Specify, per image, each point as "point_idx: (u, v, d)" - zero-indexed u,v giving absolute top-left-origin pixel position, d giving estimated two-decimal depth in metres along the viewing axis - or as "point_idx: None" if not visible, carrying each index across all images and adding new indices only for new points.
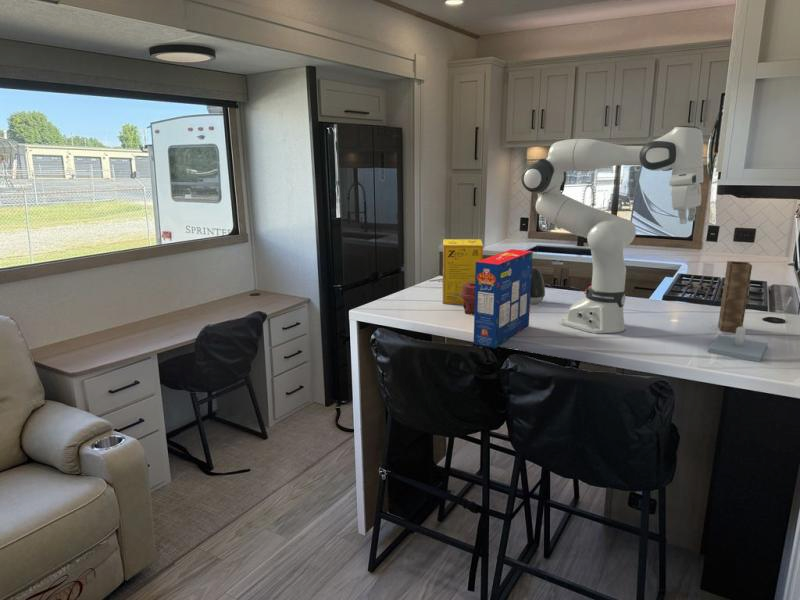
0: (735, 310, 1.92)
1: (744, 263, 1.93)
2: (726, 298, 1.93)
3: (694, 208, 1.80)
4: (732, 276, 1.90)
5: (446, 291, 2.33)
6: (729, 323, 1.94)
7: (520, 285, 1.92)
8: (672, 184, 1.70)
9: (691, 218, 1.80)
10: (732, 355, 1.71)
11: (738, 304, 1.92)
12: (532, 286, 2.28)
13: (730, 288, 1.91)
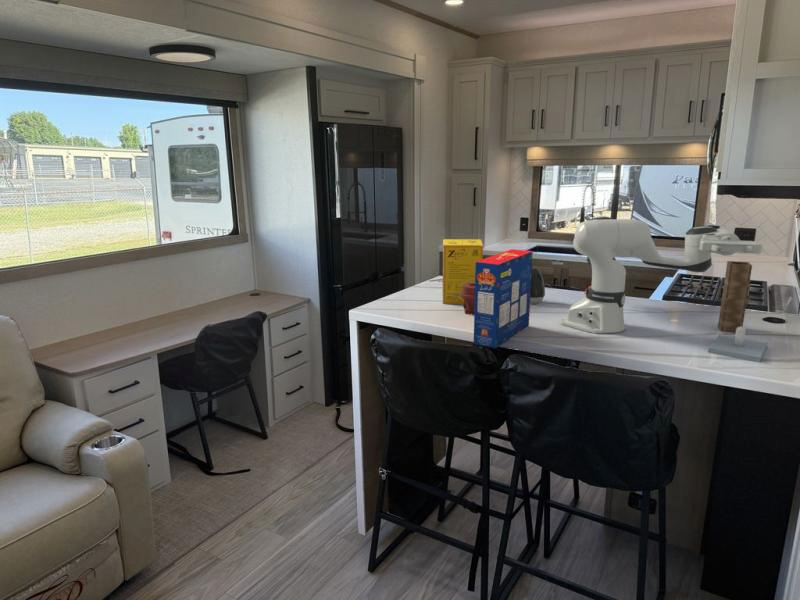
0: (735, 310, 1.92)
1: (744, 263, 1.93)
2: (726, 298, 1.93)
3: (747, 246, 2.04)
4: (732, 276, 1.90)
5: (446, 291, 2.33)
6: (729, 323, 1.94)
7: (520, 285, 1.92)
8: None
9: (745, 249, 2.01)
10: (732, 355, 1.71)
11: (738, 304, 1.92)
12: (532, 286, 2.28)
13: (730, 288, 1.91)
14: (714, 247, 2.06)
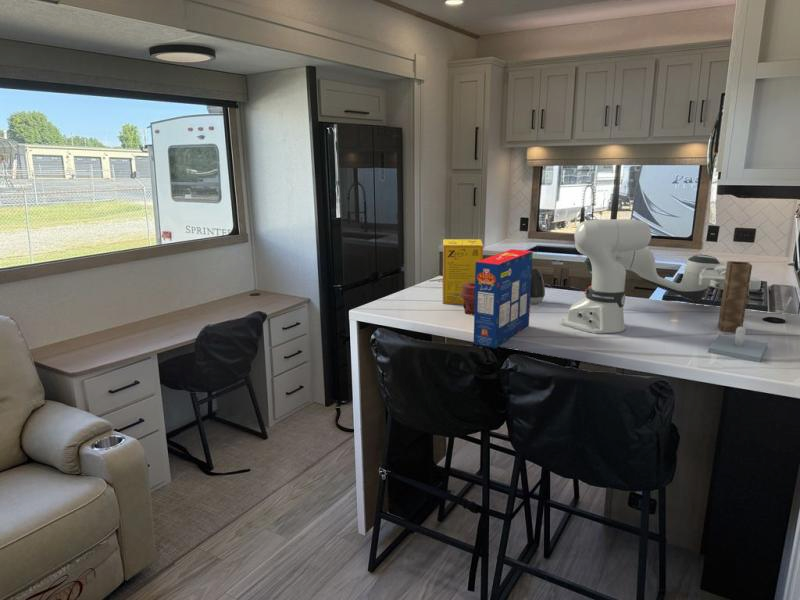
0: (735, 310, 1.92)
1: (744, 263, 1.93)
2: (726, 298, 1.93)
3: None
4: (732, 276, 1.90)
5: (446, 291, 2.33)
6: (729, 323, 1.94)
7: (520, 285, 1.92)
8: None
9: None
10: (732, 355, 1.71)
11: (738, 304, 1.92)
12: (532, 286, 2.28)
13: (730, 288, 1.91)
14: (713, 283, 2.06)
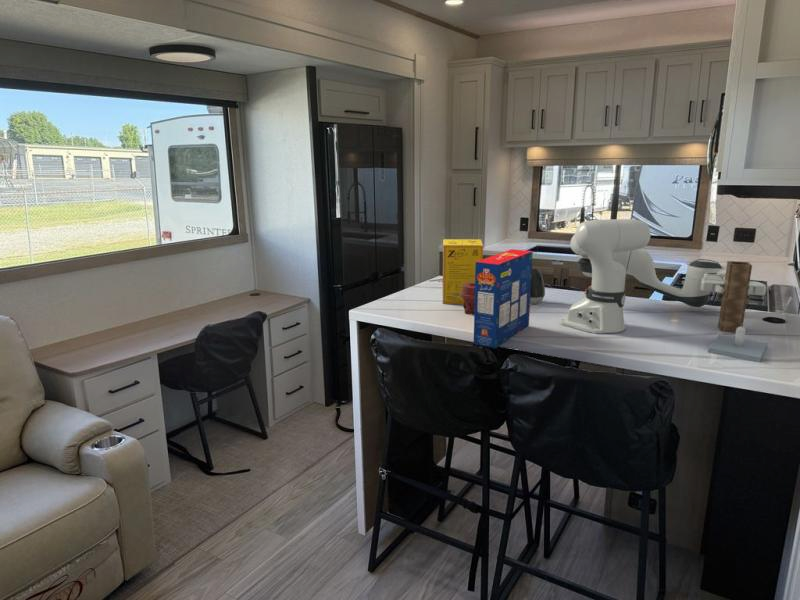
0: (735, 310, 1.92)
1: (744, 263, 1.93)
2: (726, 298, 1.93)
3: None
4: (732, 276, 1.90)
5: (446, 291, 2.33)
6: (729, 323, 1.94)
7: (520, 285, 1.92)
8: None
9: None
10: (732, 355, 1.71)
11: (738, 304, 1.92)
12: (532, 286, 2.28)
13: (730, 288, 1.91)
14: (718, 288, 1.97)
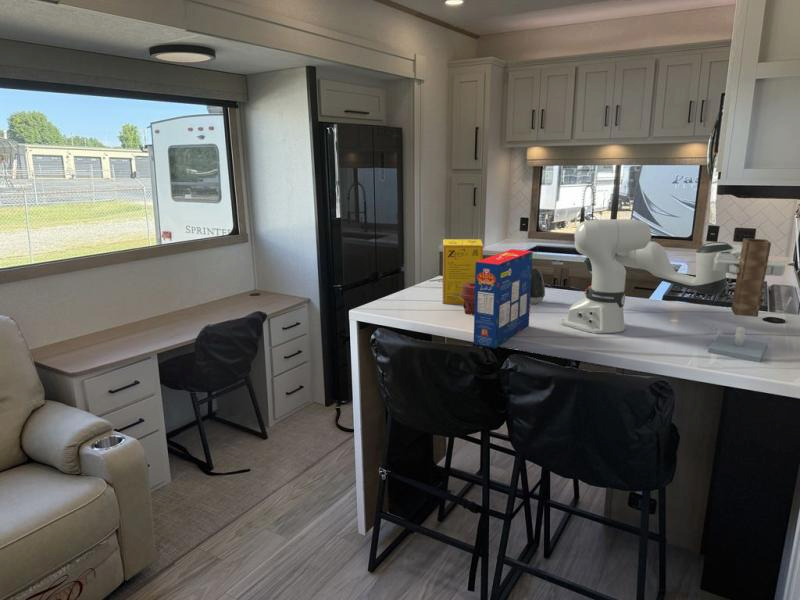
0: (751, 292, 1.77)
1: (762, 240, 1.77)
2: (742, 279, 1.77)
3: None
4: (748, 254, 1.74)
5: (446, 291, 2.33)
6: (744, 306, 1.78)
7: (520, 285, 1.92)
8: None
9: None
10: (732, 355, 1.71)
11: (754, 285, 1.76)
12: (532, 286, 2.28)
13: (746, 267, 1.75)
14: (733, 268, 1.81)
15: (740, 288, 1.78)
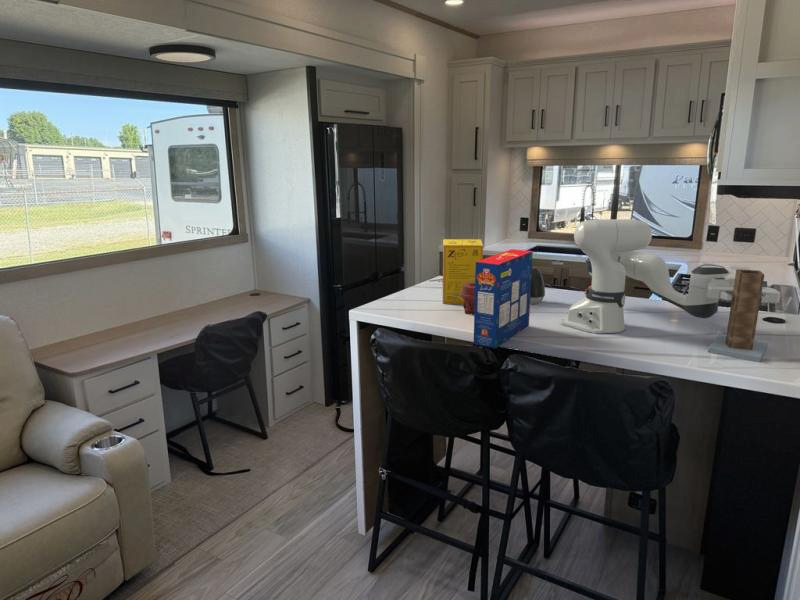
0: (745, 324, 1.72)
1: (755, 272, 1.72)
2: (735, 311, 1.72)
3: (763, 295, 1.74)
4: (742, 286, 1.70)
5: (446, 291, 2.33)
6: (738, 339, 1.74)
7: (520, 285, 1.92)
8: None
9: (761, 299, 1.72)
10: (732, 355, 1.71)
11: (748, 317, 1.71)
12: (532, 286, 2.28)
13: (739, 299, 1.71)
14: (724, 295, 1.76)
15: (734, 320, 1.73)
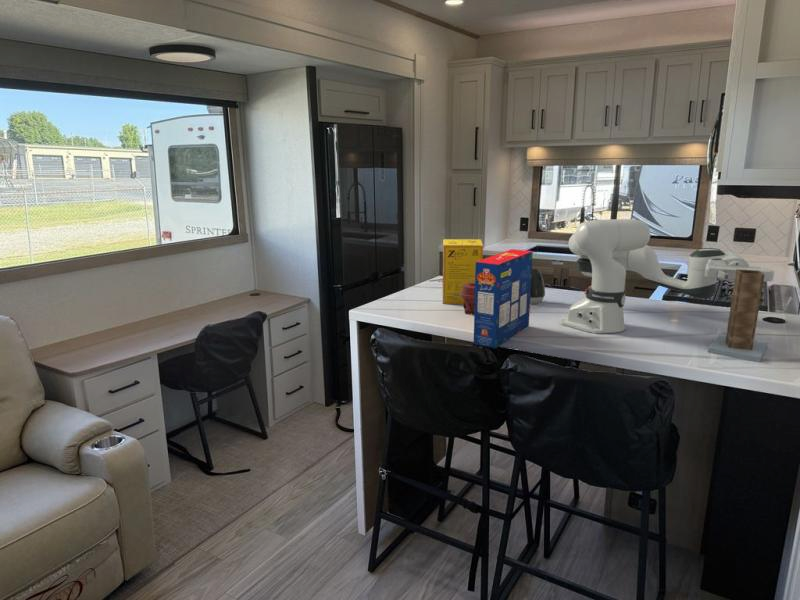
0: (745, 324, 1.72)
1: (755, 272, 1.72)
2: (735, 311, 1.72)
3: None
4: (742, 286, 1.70)
5: (446, 291, 2.33)
6: (738, 339, 1.74)
7: (520, 285, 1.92)
8: None
9: None
10: (732, 355, 1.71)
11: (748, 317, 1.71)
12: (532, 286, 2.28)
13: (739, 299, 1.71)
14: (721, 274, 1.87)
15: (734, 320, 1.73)
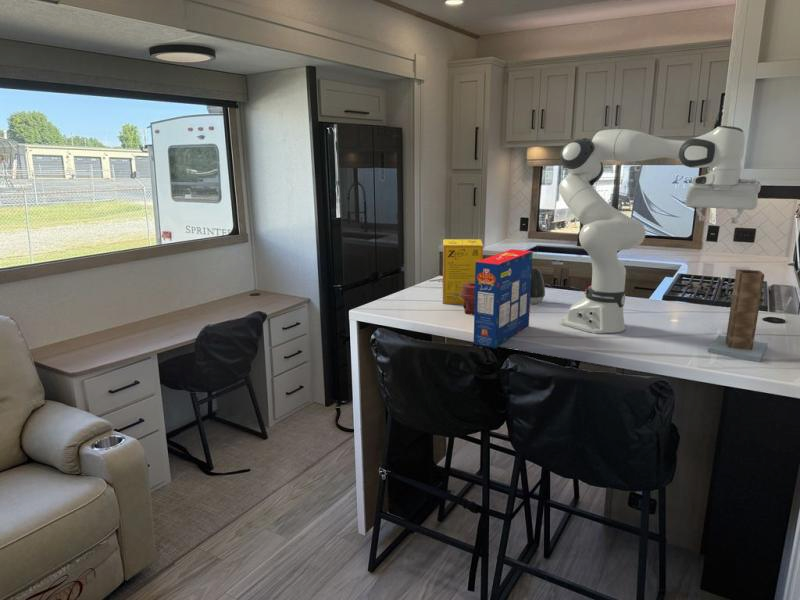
0: (745, 324, 1.72)
1: (755, 272, 1.72)
2: (735, 311, 1.72)
3: (737, 211, 1.76)
4: (742, 286, 1.70)
5: (446, 291, 2.33)
6: (738, 339, 1.74)
7: (520, 285, 1.92)
8: None
9: None
10: (732, 355, 1.71)
11: (748, 317, 1.71)
12: (532, 286, 2.28)
13: (739, 299, 1.71)
14: None
15: (734, 320, 1.73)
